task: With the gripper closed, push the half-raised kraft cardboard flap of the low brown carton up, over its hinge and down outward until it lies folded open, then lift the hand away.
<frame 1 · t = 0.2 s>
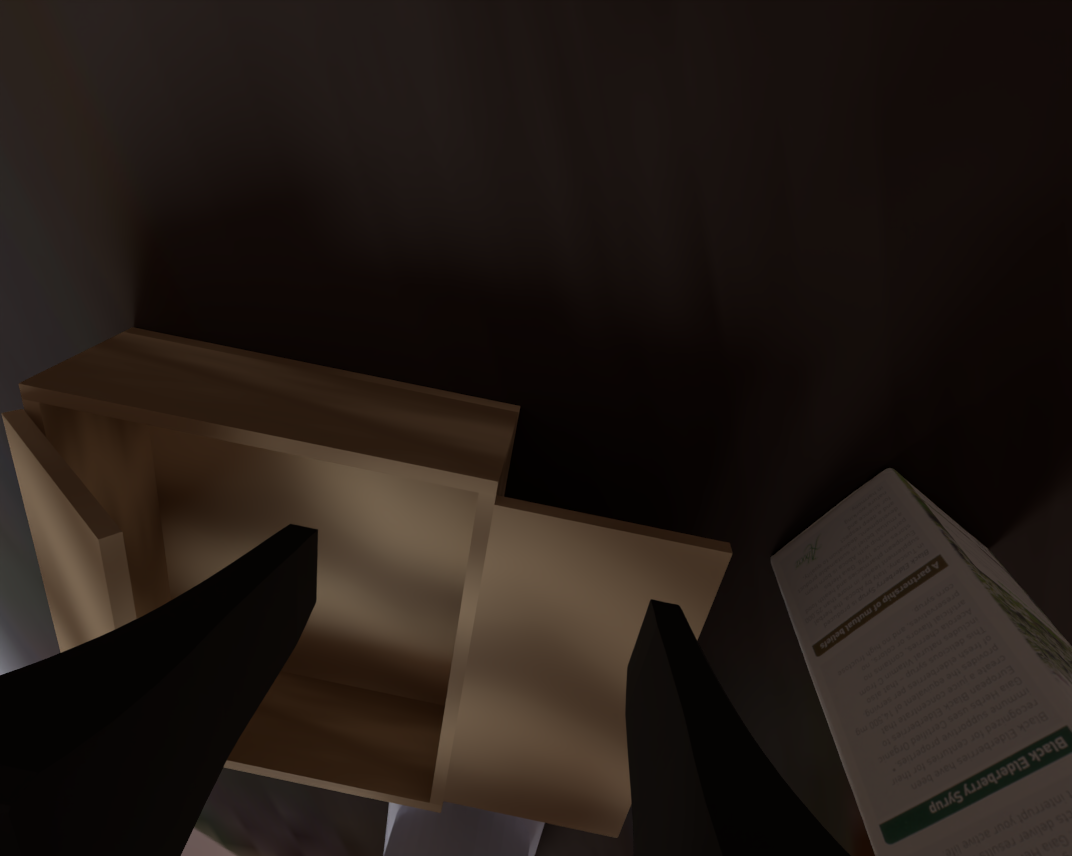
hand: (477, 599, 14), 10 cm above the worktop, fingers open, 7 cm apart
syrup box: (875, 548, 24), on the worktop
carton flap: (97, 659, 20), point 7 cm above the worktop, hinge at 35.0°
carton: (322, 543, 27), on the worktop
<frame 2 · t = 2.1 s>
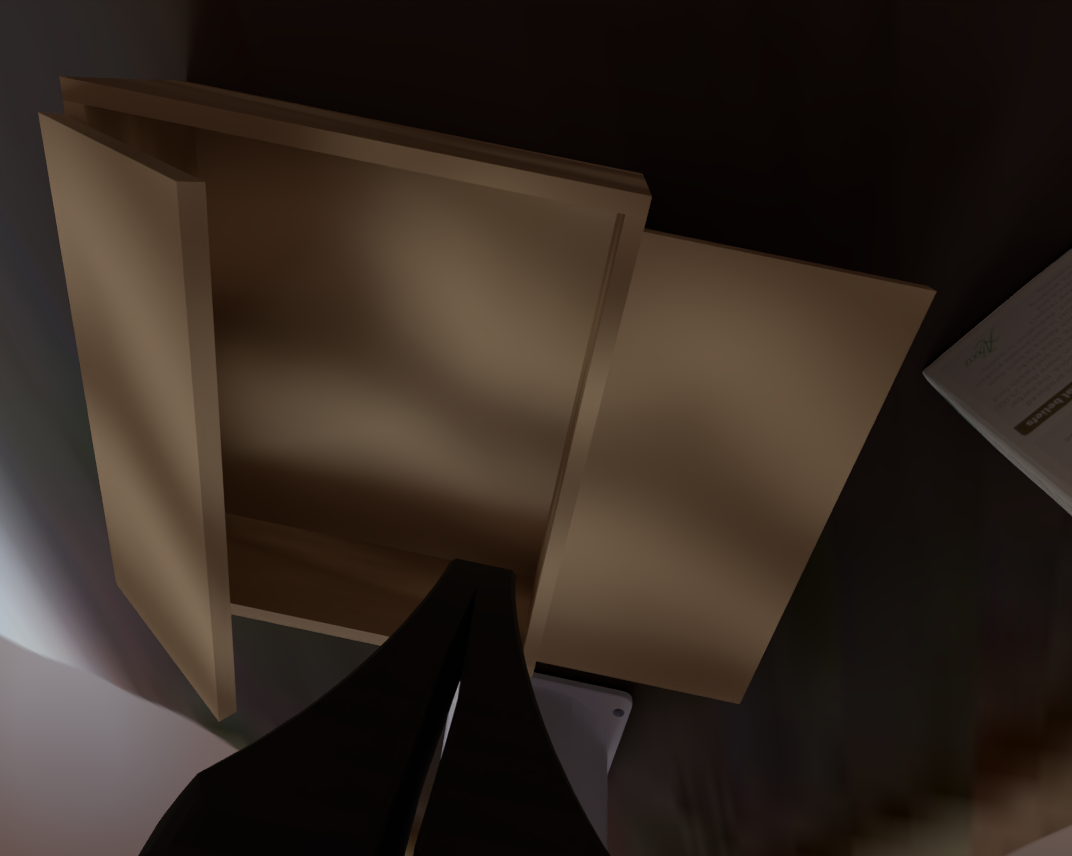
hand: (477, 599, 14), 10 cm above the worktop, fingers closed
syrup box: (1047, 358, 21), on the worktop
carton flap: (147, 442, 17), point 7 cm above the worktop, hinge at 35.0°
carton: (393, 370, 23), on the worktop
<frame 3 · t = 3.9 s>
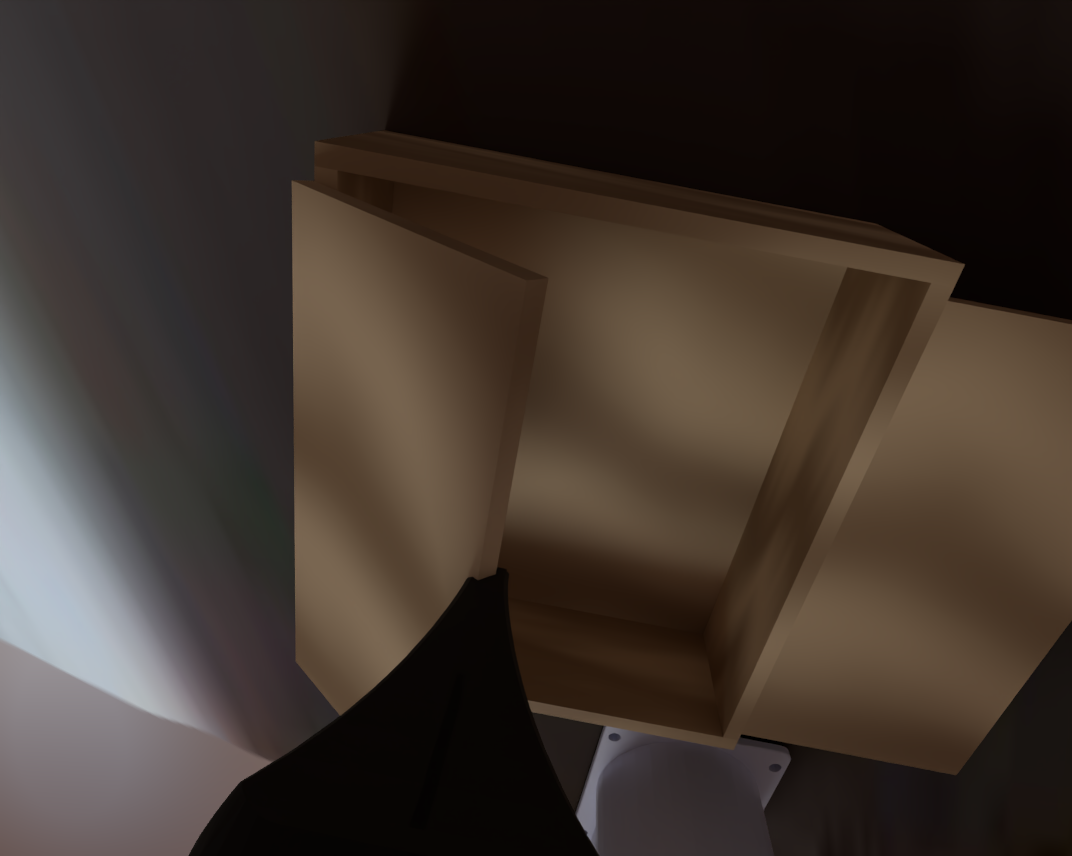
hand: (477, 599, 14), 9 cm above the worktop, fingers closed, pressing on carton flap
carton flap: (380, 533, 15), point 7 cm above the worktop, hinge at 38.4°, touching gripper
carton: (574, 426, 22), on the worktop
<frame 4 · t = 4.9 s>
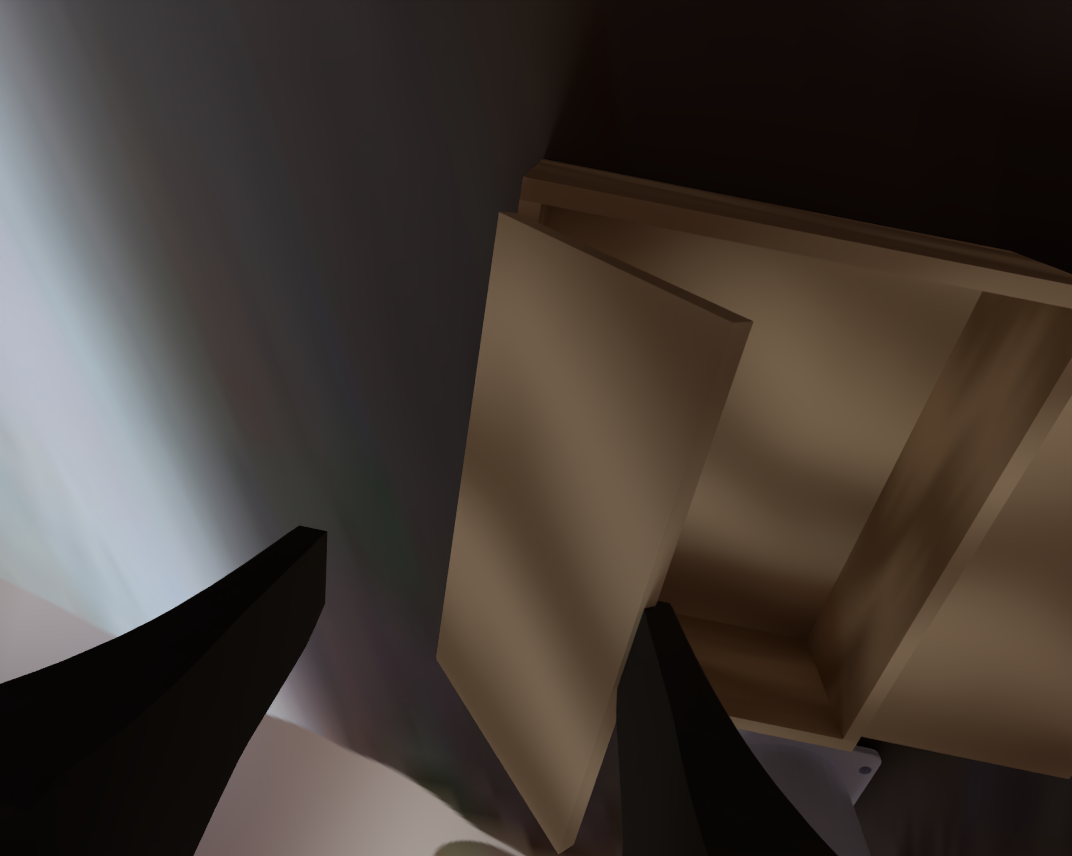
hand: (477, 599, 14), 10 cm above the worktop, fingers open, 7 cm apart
carton flap: (538, 549, 16), point 8 cm above the worktop, hinge at 50.1°, touching gripper
carton: (698, 438, 23), on the worktop
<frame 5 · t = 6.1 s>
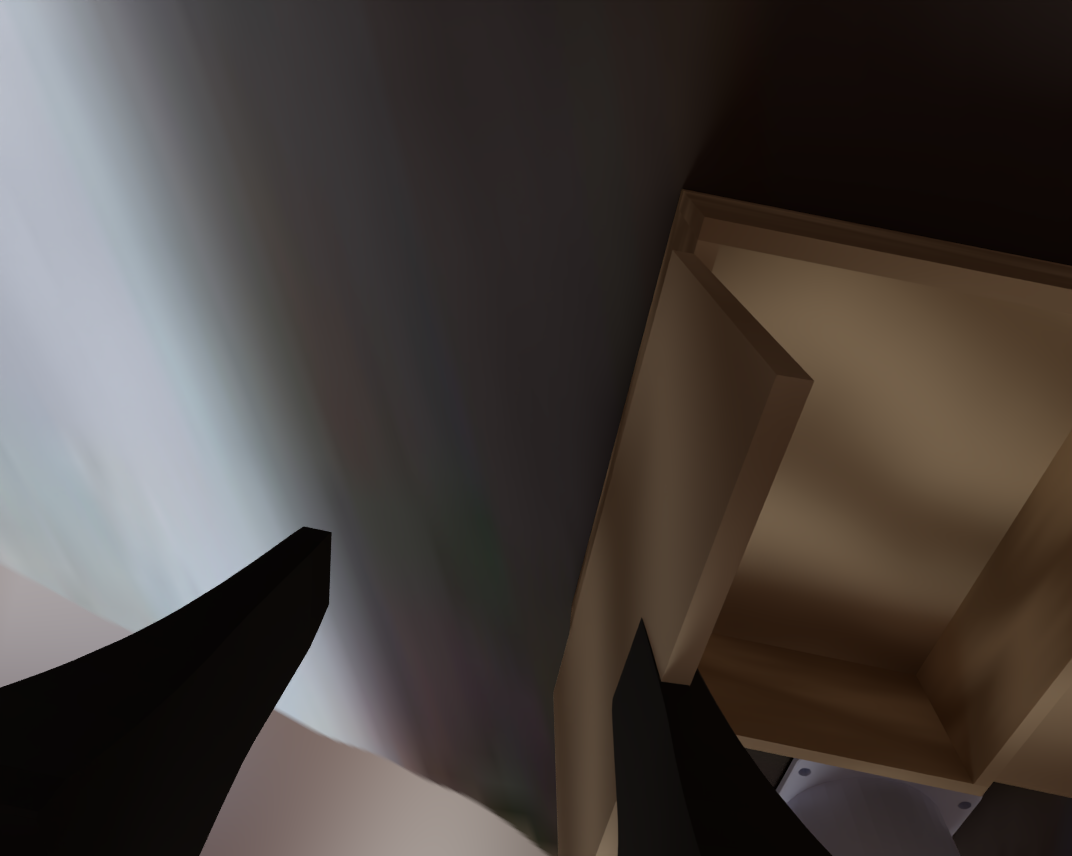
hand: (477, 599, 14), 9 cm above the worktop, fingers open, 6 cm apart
carton flap: (626, 605, 15), point 9 cm above the worktop, hinge at 84.1°, touching gripper
carton: (818, 472, 22), on the worktop
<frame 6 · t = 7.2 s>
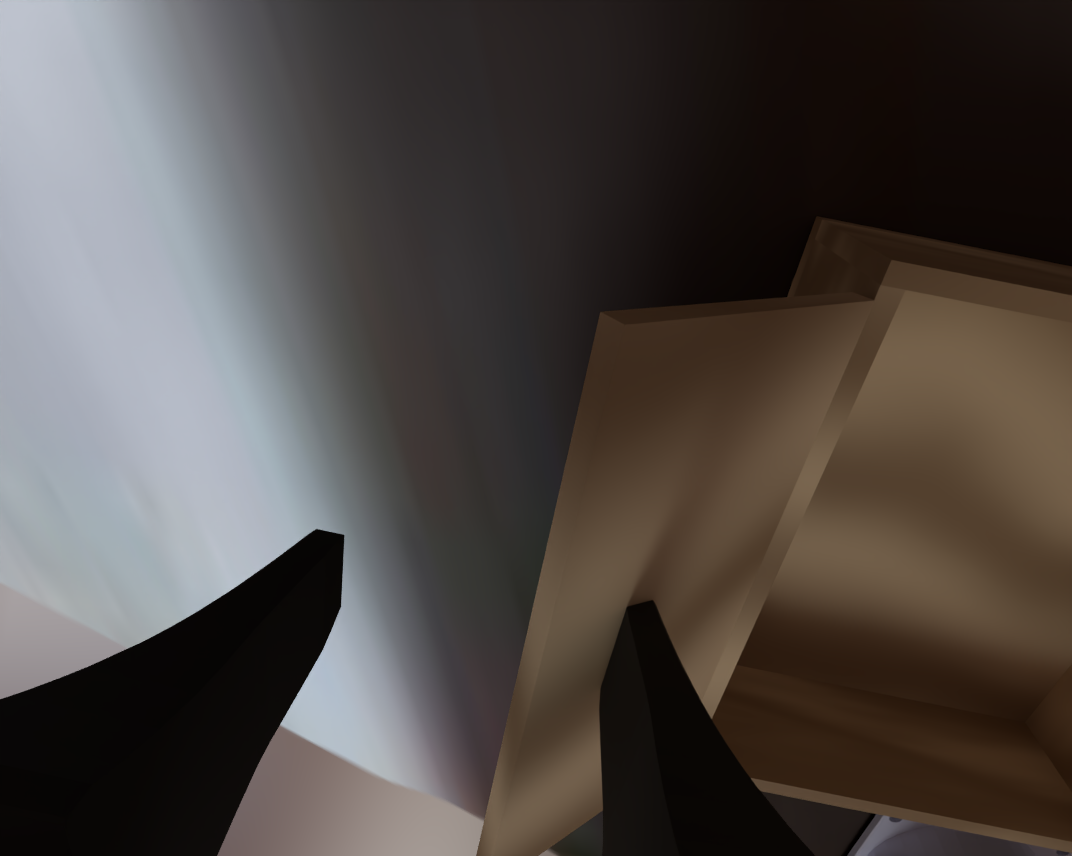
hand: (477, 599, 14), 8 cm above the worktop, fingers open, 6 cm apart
carton flap: (653, 617, 14), point 7 cm above the worktop, hinge at 137.9°, touching gripper
carton: (938, 514, 21), on the worktop
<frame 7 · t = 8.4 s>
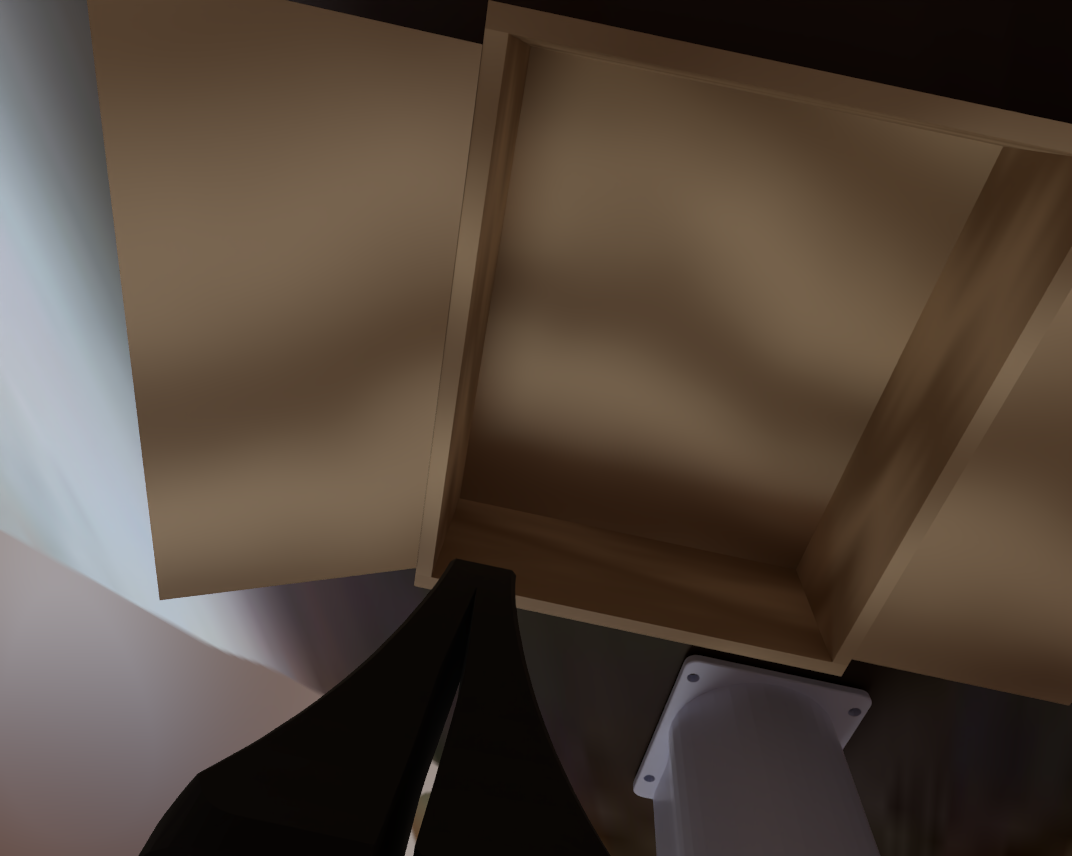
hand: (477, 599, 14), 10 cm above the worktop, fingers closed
carton flap: (300, 352, 16), point 6 cm above the worktop, hinge at 151.8°
carton: (684, 346, 21), on the worktop
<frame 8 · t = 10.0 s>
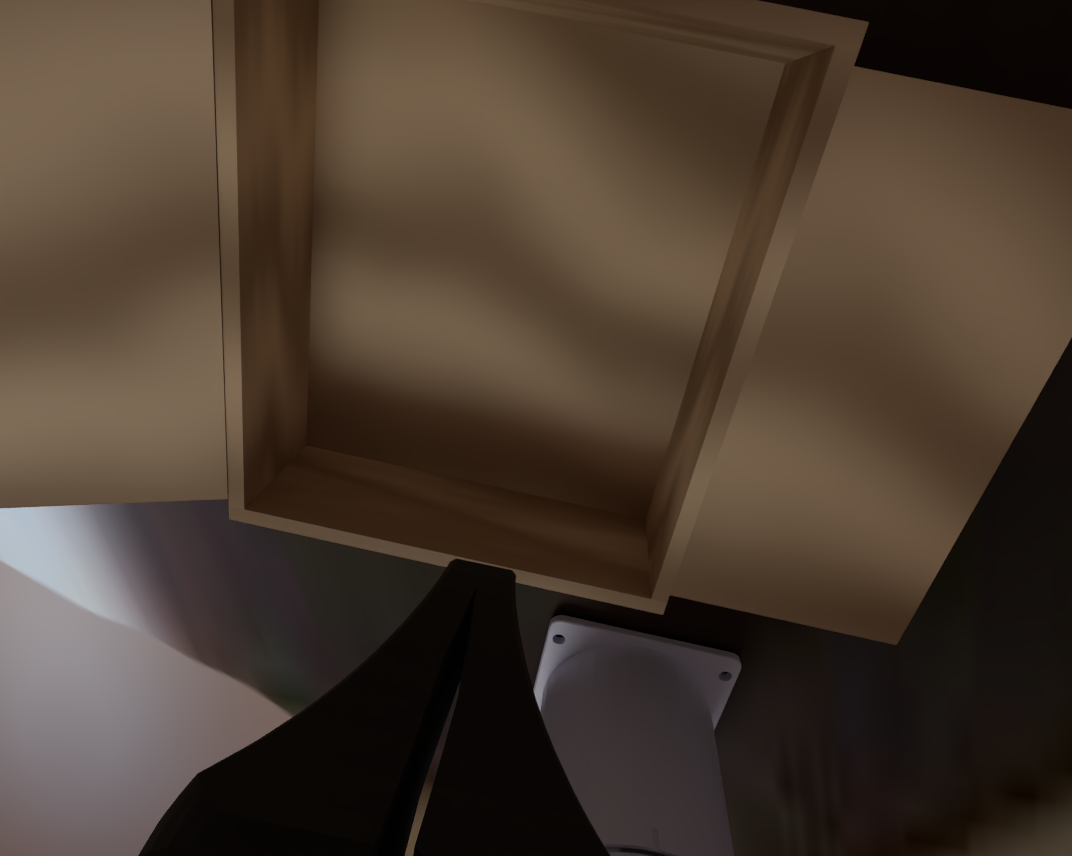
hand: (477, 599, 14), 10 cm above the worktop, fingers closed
carton flap: (62, 254, 16), point 6 cm above the worktop, hinge at 153.1°
carton: (509, 282, 21), on the worktop
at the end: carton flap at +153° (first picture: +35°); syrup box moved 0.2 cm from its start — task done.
